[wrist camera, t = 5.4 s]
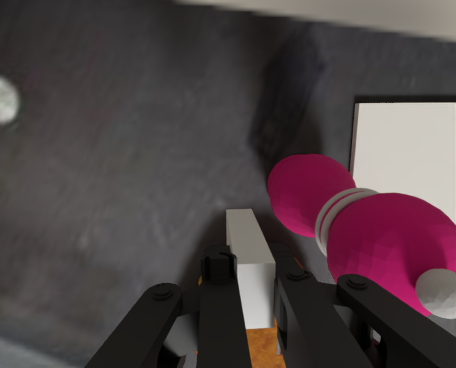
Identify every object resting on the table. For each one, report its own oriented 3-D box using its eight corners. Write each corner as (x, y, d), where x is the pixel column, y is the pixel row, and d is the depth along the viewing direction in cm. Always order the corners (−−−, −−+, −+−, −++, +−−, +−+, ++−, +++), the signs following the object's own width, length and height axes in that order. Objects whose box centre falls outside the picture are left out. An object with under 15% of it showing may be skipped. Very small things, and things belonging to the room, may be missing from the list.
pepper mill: (328, 216, 30) (537, 388, 11) (261, 218, 30) (353, 398, 10) (333, 148, 29) (588, 205, 9) (262, 149, 28) (373, 210, 9)
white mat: (342, 253, 31) (346, 257, 31) (355, 103, 28) (359, 103, 27) (497, 248, 32) (504, 251, 32) (528, 102, 29) (536, 102, 28)
